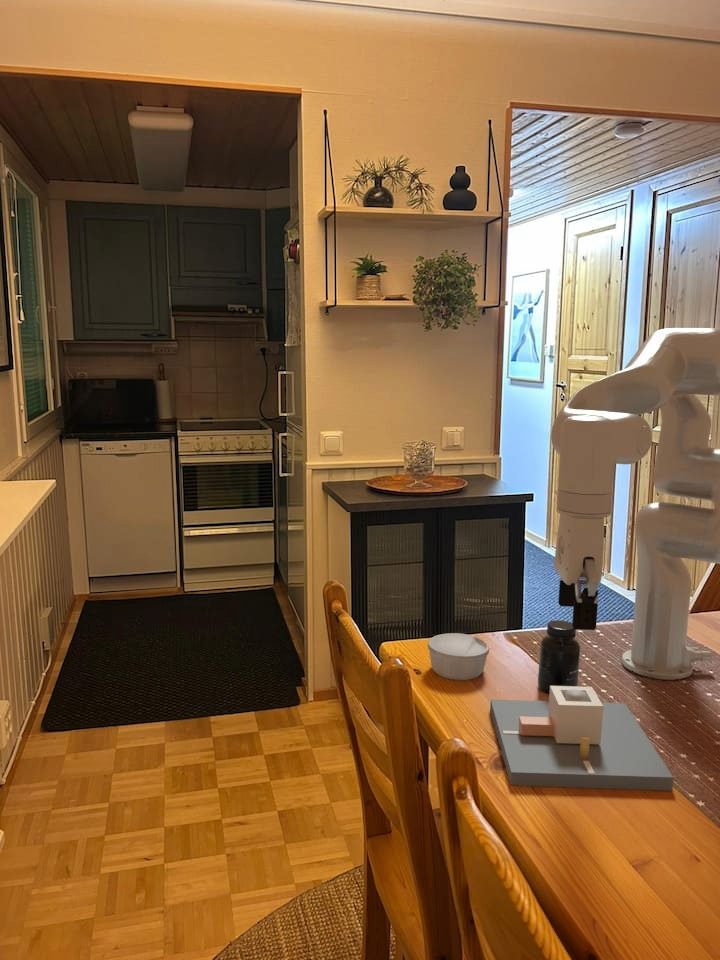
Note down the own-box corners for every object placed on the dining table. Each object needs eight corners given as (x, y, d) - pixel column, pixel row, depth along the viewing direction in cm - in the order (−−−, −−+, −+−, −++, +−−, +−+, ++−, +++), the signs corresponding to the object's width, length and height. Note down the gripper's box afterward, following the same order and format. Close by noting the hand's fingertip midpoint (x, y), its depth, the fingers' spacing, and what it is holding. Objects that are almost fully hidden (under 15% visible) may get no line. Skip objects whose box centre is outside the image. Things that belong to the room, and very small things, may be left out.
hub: (589, 723, 119) (591, 686, 118) (600, 744, 113) (603, 706, 112) (516, 721, 120) (518, 684, 119) (523, 741, 114) (525, 703, 112)
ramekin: (497, 680, 140) (498, 653, 139) (439, 686, 137) (440, 658, 136) (473, 656, 151) (474, 630, 150) (419, 661, 148) (420, 635, 147)
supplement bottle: (578, 699, 132) (583, 633, 130) (538, 695, 134) (541, 630, 132) (576, 683, 139) (580, 619, 137) (537, 679, 140) (540, 616, 138)
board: (624, 714, 127) (628, 665, 126) (672, 790, 106) (677, 732, 104) (490, 710, 128) (492, 661, 127) (510, 785, 106) (513, 727, 105)
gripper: (546, 490, 119) (540, 597, 122) (570, 515, 102) (562, 638, 105) (595, 492, 119) (588, 598, 122) (627, 516, 102) (618, 640, 105)
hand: (576, 616), depth 113 cm, fingers open, 9 cm apart
